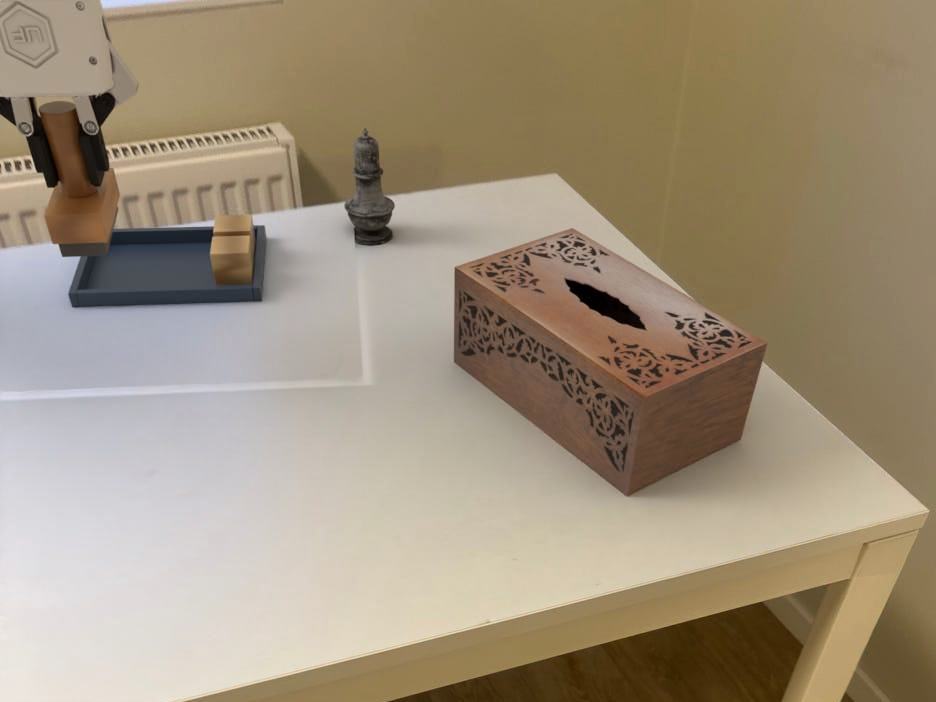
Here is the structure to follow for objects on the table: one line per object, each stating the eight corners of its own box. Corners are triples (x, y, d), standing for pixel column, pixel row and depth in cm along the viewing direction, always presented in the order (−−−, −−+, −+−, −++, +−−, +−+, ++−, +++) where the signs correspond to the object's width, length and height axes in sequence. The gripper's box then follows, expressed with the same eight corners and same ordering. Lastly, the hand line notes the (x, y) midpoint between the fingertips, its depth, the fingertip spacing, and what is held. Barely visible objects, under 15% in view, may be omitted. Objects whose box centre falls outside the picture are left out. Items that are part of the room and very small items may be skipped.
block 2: (216, 289, 104) (209, 253, 101) (218, 271, 107) (212, 236, 104) (253, 288, 104) (248, 252, 101) (255, 270, 107) (250, 235, 104)
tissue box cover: (740, 439, 90) (767, 343, 82) (626, 496, 84) (644, 397, 76) (563, 320, 103) (572, 228, 96) (453, 361, 97) (454, 266, 90)
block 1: (219, 266, 107) (212, 231, 104) (221, 249, 110) (215, 215, 107) (255, 265, 108) (250, 230, 105) (257, 248, 110) (251, 214, 107)
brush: (56, 258, 80) (17, 130, 72) (72, 210, 86) (37, 87, 78) (111, 256, 80) (78, 129, 73) (123, 209, 86) (93, 86, 79)
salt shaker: (358, 250, 112) (351, 142, 104) (338, 229, 116) (329, 123, 107) (404, 240, 114) (400, 133, 106) (383, 220, 118) (378, 114, 109)
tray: (73, 314, 101) (67, 293, 100) (95, 248, 111) (89, 229, 109) (262, 307, 103) (259, 287, 101) (267, 244, 113) (264, 224, 111)
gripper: (-141, -82, 62) (-37, 203, 76) (117, -81, 64) (174, 197, 78) (-110, -108, 67) (-17, 164, 81) (130, -106, 69) (181, 159, 83)
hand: (76, 178), depth 79 cm, fingers closed on brush, 2 cm apart
